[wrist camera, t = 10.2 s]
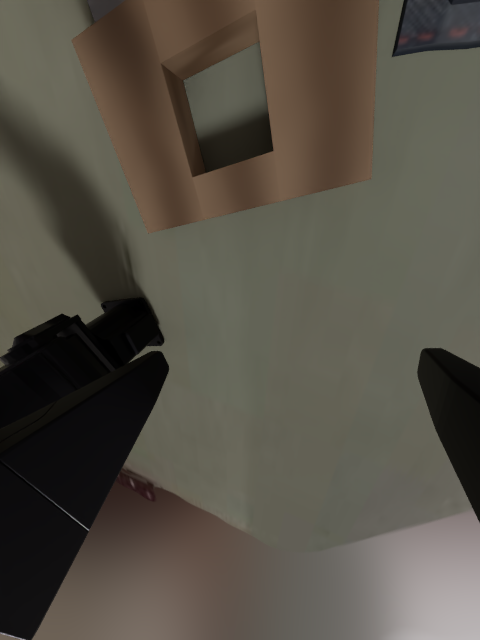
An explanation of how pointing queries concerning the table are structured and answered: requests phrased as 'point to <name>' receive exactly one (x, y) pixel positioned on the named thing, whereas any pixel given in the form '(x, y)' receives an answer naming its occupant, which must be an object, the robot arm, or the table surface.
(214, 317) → the table surface
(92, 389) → the robot arm
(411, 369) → the table surface
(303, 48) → the pocket board
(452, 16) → the dark blue flat slab
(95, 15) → the pad
